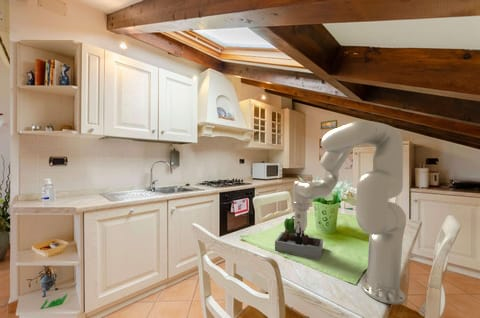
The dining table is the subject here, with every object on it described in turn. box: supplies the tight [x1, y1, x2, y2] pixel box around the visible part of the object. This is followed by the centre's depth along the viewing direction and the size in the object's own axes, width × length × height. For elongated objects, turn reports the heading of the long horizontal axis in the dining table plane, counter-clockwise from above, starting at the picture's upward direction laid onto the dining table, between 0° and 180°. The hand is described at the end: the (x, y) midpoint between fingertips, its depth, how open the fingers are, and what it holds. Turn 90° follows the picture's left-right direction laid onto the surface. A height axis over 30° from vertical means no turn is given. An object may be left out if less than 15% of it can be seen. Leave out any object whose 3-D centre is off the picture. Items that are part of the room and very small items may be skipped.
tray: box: [274, 231, 324, 261], centre depth 109 cm, size 14×21×4 cm, turn 65°
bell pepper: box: [283, 215, 296, 234], centre depth 131 cm, size 8×8×10 cm
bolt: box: [283, 230, 316, 246], centre depth 109 cm, size 6×5×15 cm
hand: (299, 241), depth 109 cm, fingers closed on bolt, 5 cm apart
